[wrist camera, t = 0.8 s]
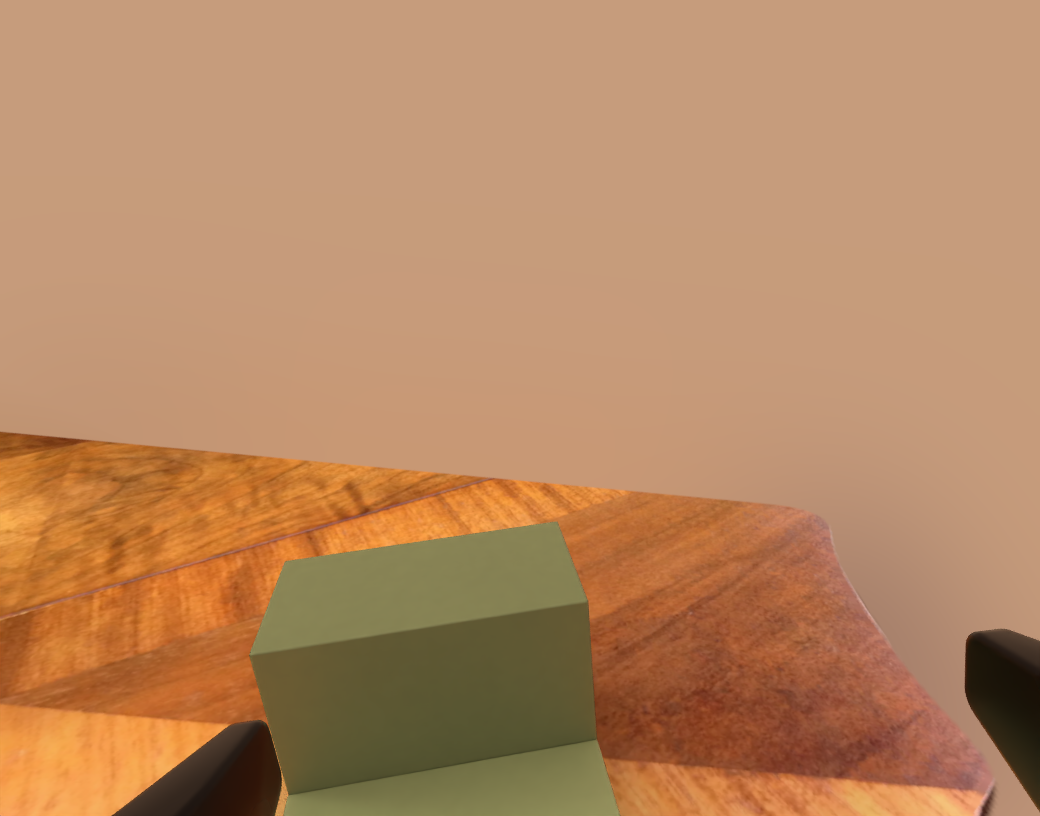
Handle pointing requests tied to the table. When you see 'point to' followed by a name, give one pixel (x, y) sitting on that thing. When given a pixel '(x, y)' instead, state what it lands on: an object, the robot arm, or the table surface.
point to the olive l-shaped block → (435, 680)
